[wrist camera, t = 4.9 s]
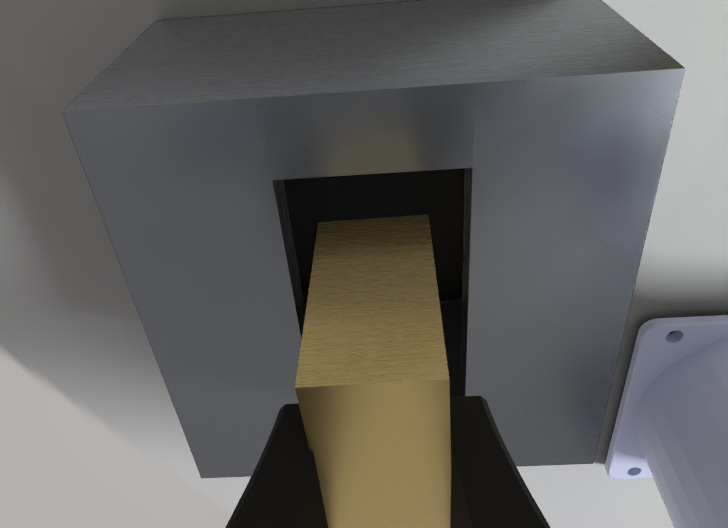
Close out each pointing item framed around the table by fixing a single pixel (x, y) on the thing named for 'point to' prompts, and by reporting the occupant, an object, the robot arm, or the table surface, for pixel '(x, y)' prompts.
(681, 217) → the table surface
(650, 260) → the table surface
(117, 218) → the box
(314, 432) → the block
